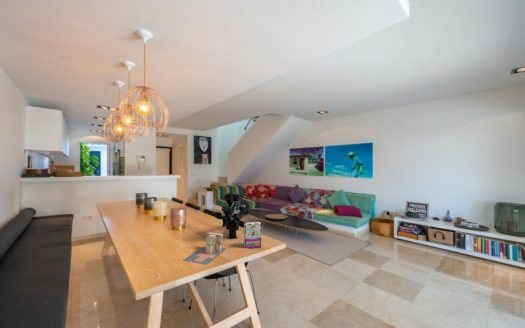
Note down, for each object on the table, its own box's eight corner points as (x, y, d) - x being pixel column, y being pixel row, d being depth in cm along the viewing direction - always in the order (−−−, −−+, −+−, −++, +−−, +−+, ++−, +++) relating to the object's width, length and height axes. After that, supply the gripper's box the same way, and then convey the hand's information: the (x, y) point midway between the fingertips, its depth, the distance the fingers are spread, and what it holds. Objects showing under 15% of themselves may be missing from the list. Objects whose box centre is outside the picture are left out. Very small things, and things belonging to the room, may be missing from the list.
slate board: (205, 246, 144) (206, 245, 144) (227, 249, 139) (227, 248, 139) (182, 261, 121) (182, 260, 121) (206, 265, 116) (206, 264, 116)
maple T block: (209, 247, 140) (209, 232, 140) (222, 249, 137) (222, 234, 137) (201, 252, 132) (201, 236, 132) (215, 255, 129) (215, 238, 129)
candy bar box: (259, 245, 148) (259, 221, 148) (261, 247, 143) (261, 223, 143) (243, 246, 145) (243, 222, 145) (244, 249, 140) (245, 224, 140)
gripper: (215, 200, 156) (207, 219, 146) (239, 202, 150) (231, 222, 140) (220, 209, 164) (213, 227, 153) (243, 211, 158) (236, 230, 147)
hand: (223, 226), depth 148 cm, fingers closed
